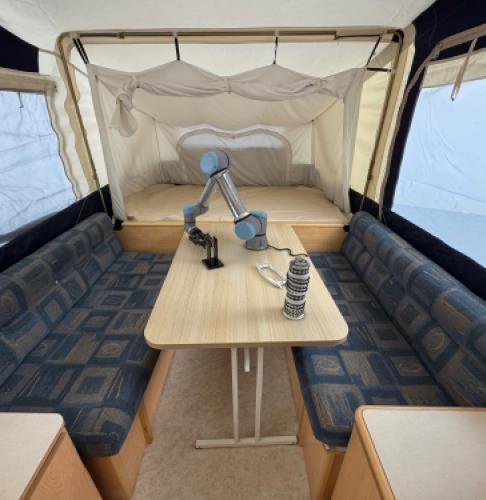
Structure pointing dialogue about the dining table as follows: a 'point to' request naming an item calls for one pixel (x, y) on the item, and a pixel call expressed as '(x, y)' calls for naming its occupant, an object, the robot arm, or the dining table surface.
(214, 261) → the bracket
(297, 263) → the decorative candle
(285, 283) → the door handle
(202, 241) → the lever
